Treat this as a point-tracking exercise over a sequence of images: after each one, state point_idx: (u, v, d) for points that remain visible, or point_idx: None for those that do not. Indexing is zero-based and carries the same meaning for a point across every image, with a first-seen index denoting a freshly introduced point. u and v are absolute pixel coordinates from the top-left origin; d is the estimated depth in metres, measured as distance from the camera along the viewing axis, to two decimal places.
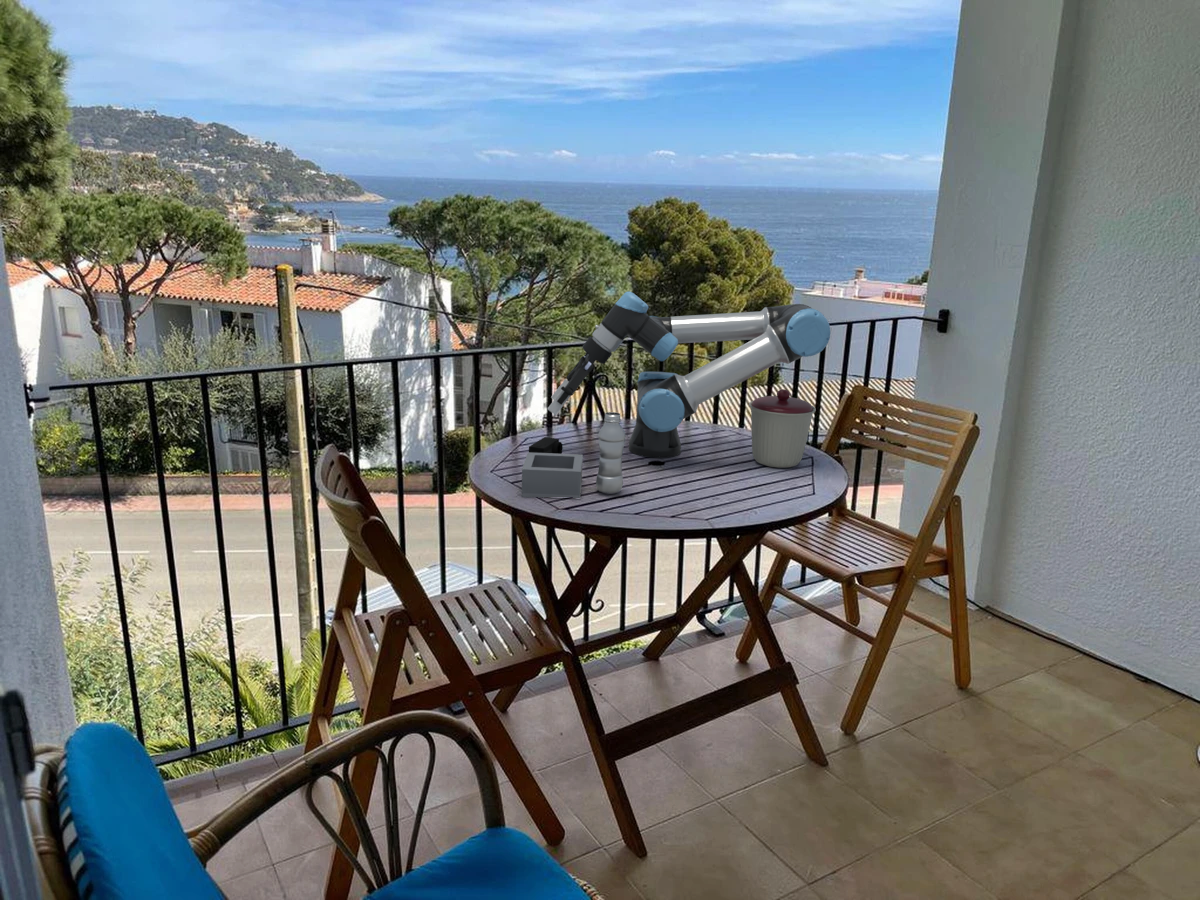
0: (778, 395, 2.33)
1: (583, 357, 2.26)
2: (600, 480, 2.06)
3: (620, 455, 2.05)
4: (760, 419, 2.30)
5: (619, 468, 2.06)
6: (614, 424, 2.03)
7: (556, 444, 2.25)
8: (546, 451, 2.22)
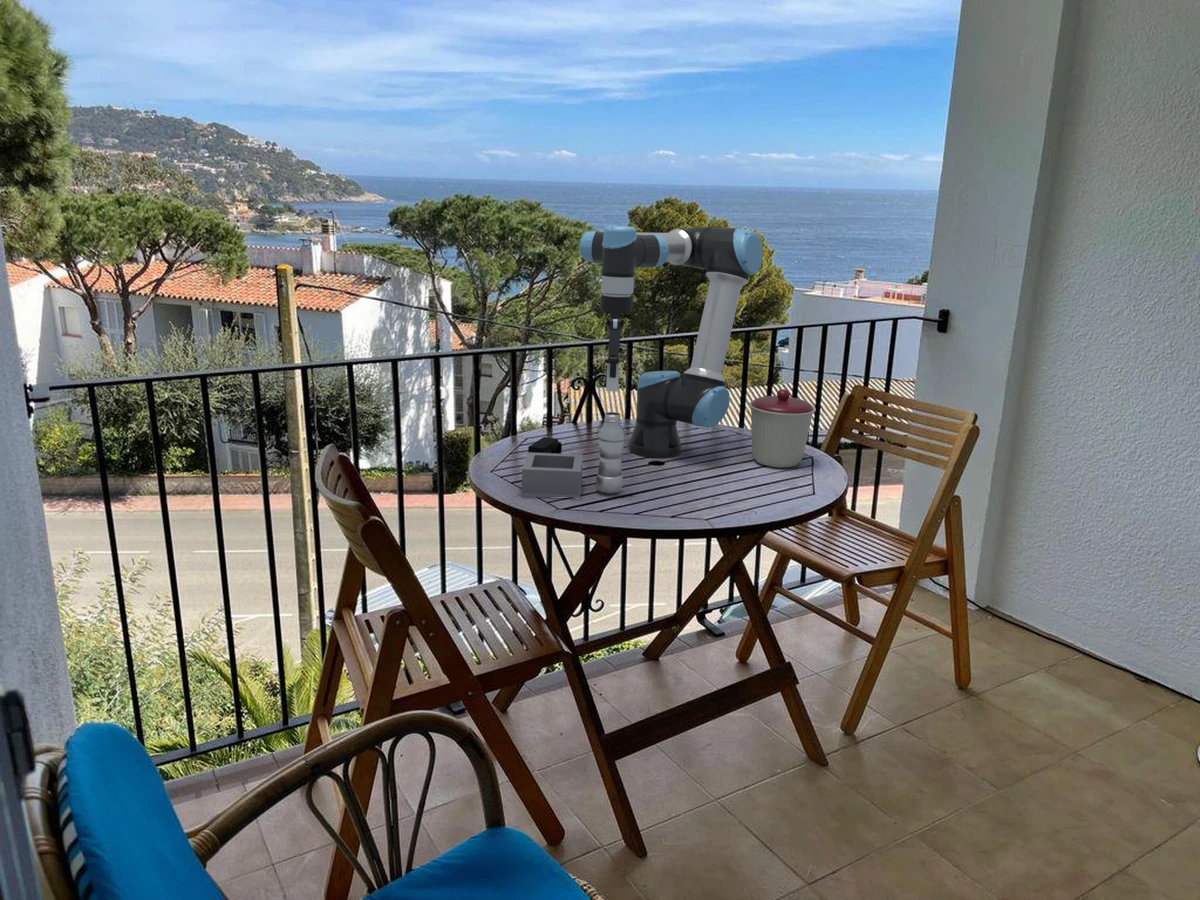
0: (778, 395, 2.33)
1: (608, 319, 1.99)
2: (600, 480, 2.06)
3: (620, 455, 2.05)
4: (760, 419, 2.30)
5: (619, 468, 2.06)
6: (614, 424, 2.03)
7: (555, 444, 2.26)
8: (545, 451, 2.22)
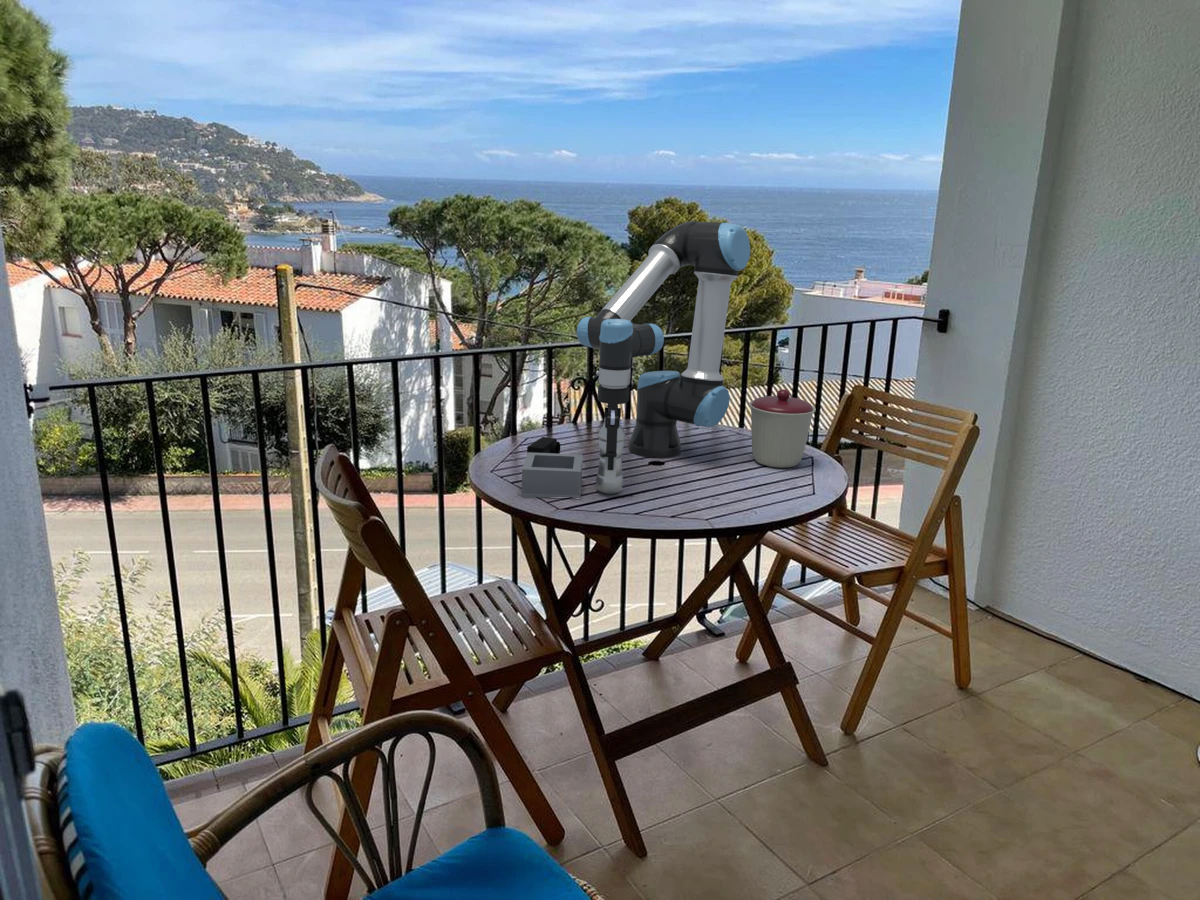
0: (778, 395, 2.33)
1: (606, 407, 2.04)
2: (600, 480, 2.06)
3: (620, 455, 2.05)
4: (760, 419, 2.30)
5: (619, 468, 2.06)
6: None
7: (554, 444, 2.26)
8: (544, 451, 2.22)
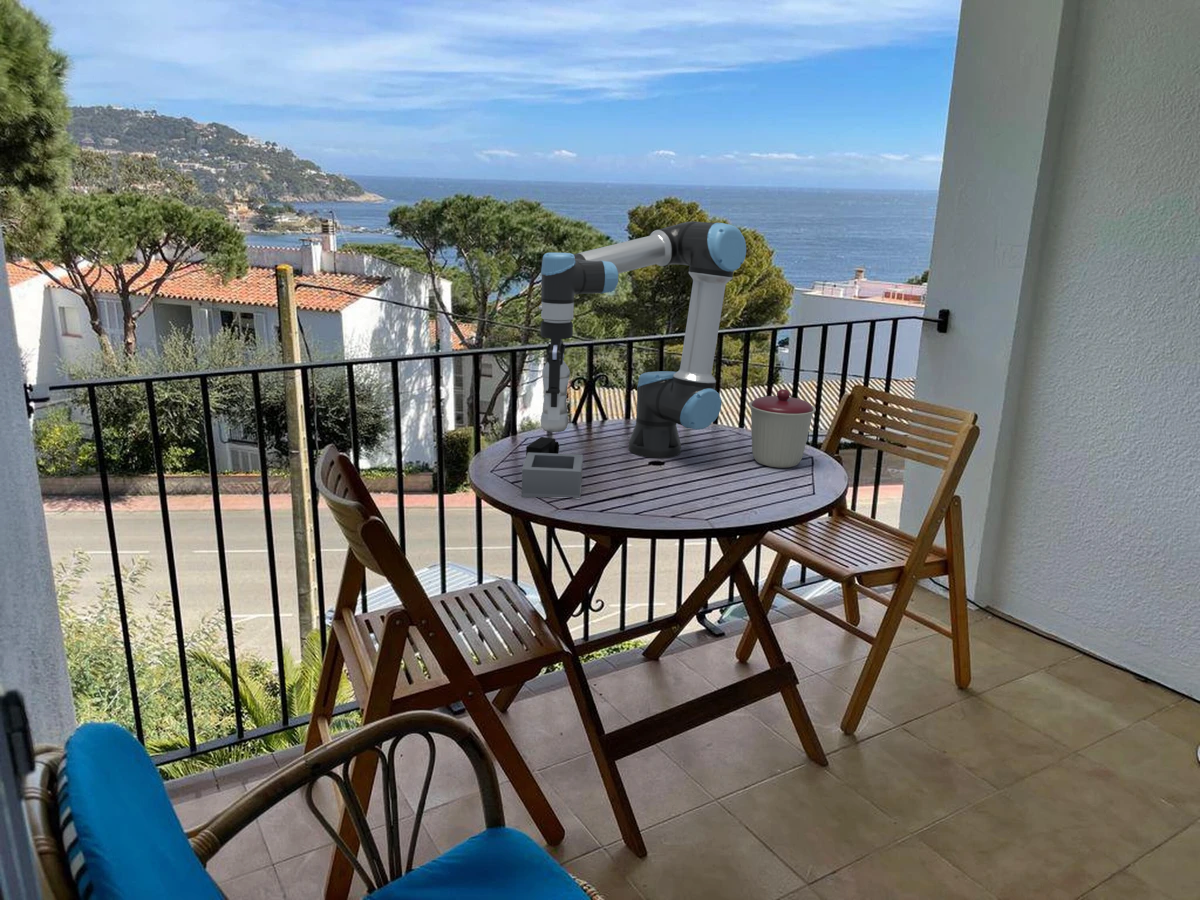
0: (778, 395, 2.33)
1: (549, 344, 2.01)
2: (545, 418, 2.03)
3: (564, 392, 2.02)
4: (760, 419, 2.30)
5: (563, 406, 2.03)
6: None
7: (553, 444, 2.26)
8: (543, 451, 2.22)
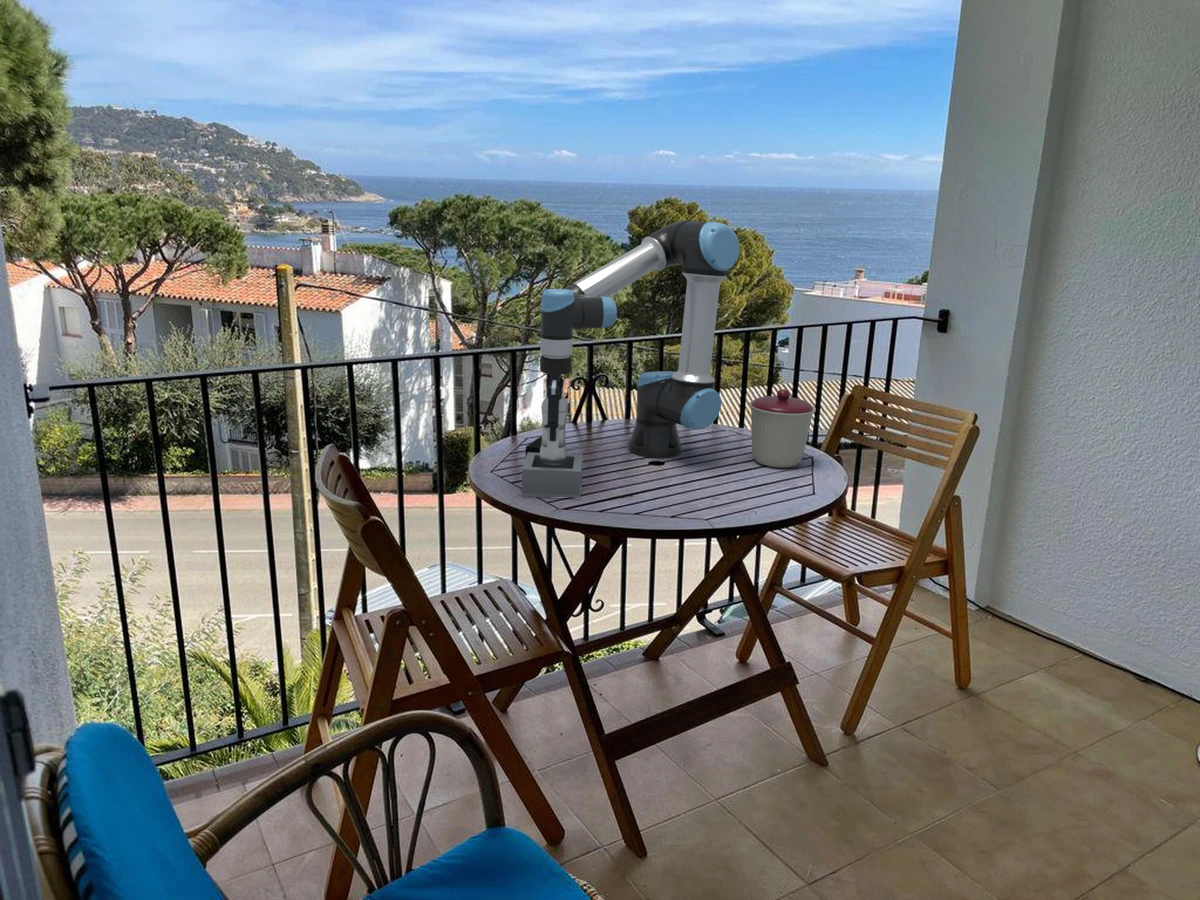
0: (778, 395, 2.33)
1: (549, 378, 2.04)
2: (543, 451, 2.05)
3: (563, 426, 2.04)
4: (760, 419, 2.30)
5: (562, 439, 2.05)
6: None
7: None
8: None
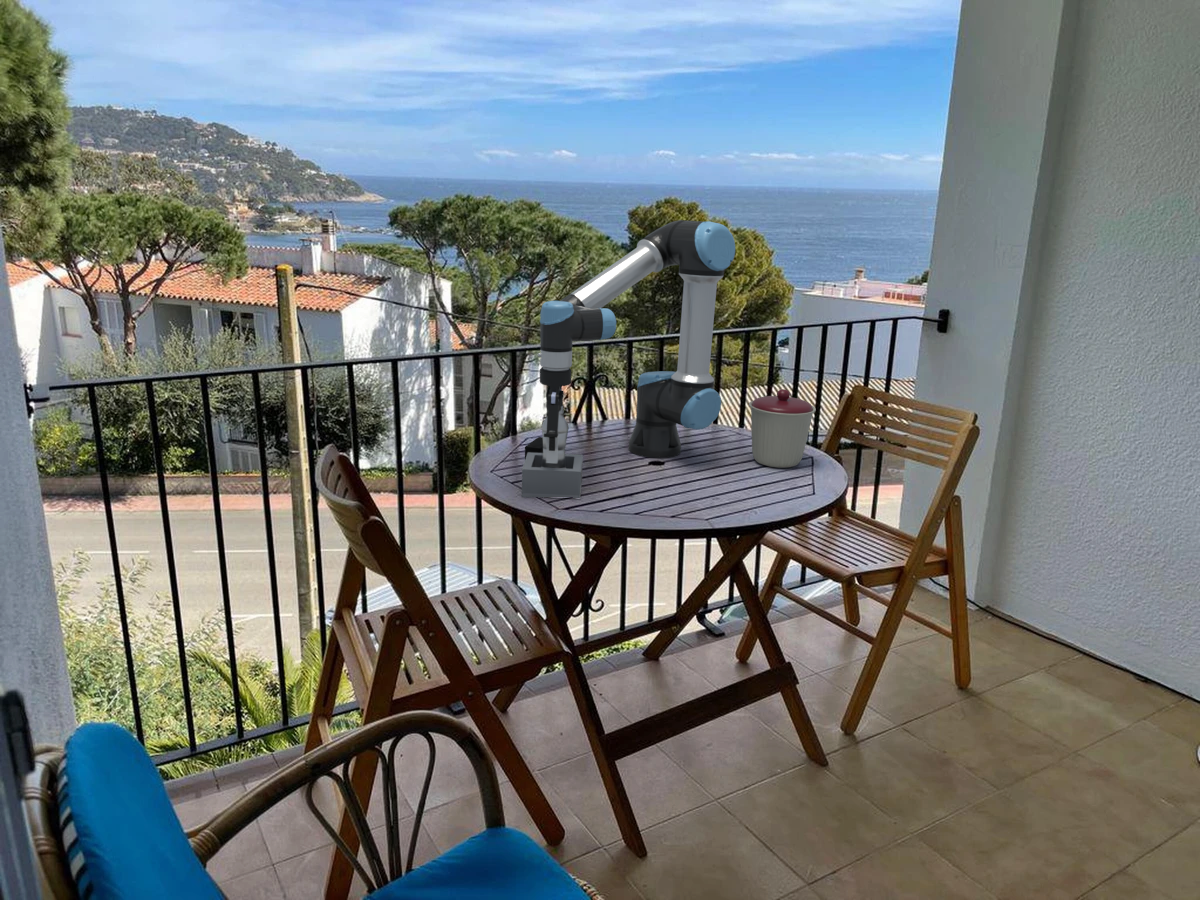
0: (778, 395, 2.33)
1: (548, 390, 2.04)
2: None
3: (563, 447, 2.06)
4: (760, 419, 2.30)
5: (562, 460, 2.07)
6: None
7: None
8: (542, 451, 2.22)
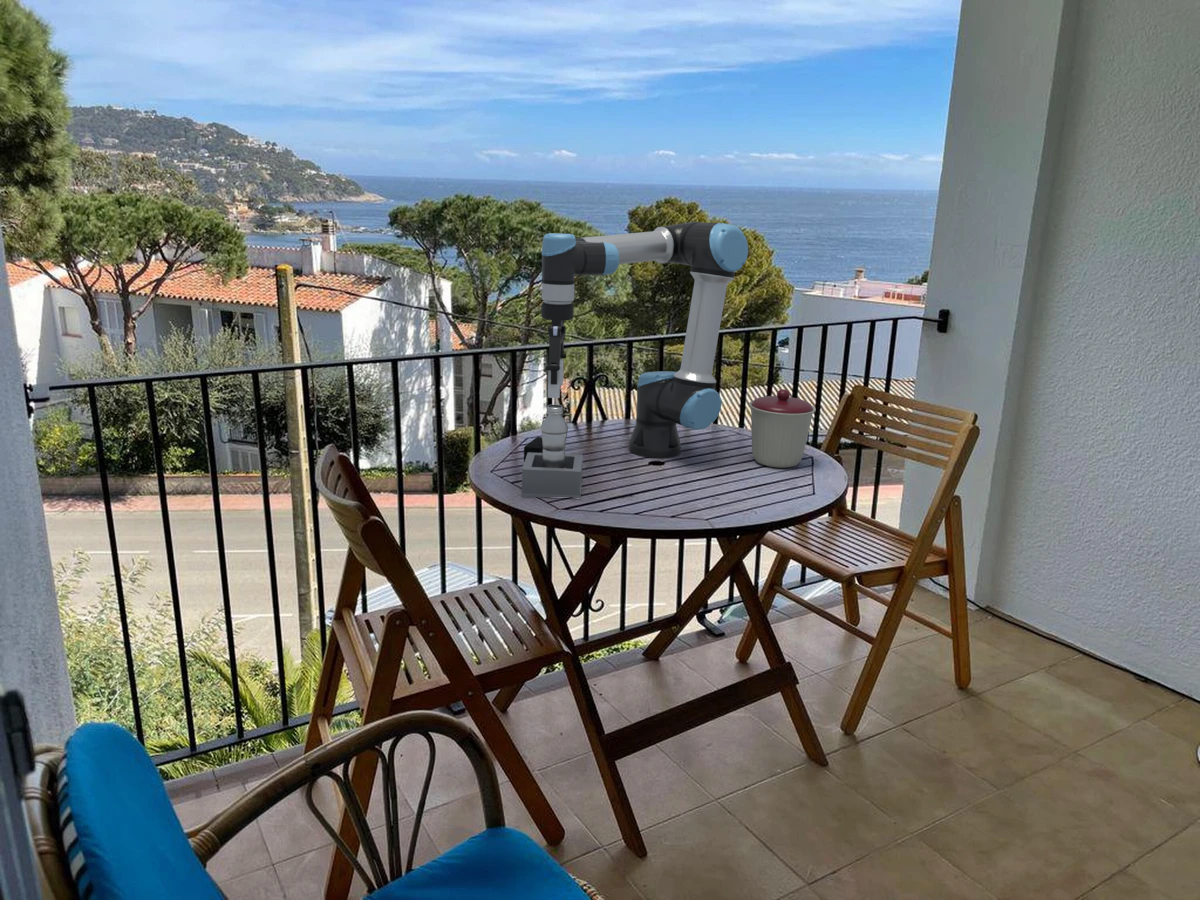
0: (778, 395, 2.33)
1: None
2: None
3: (563, 447, 2.06)
4: (760, 419, 2.30)
5: (562, 460, 2.07)
6: (556, 416, 2.04)
7: None
8: (541, 451, 2.22)
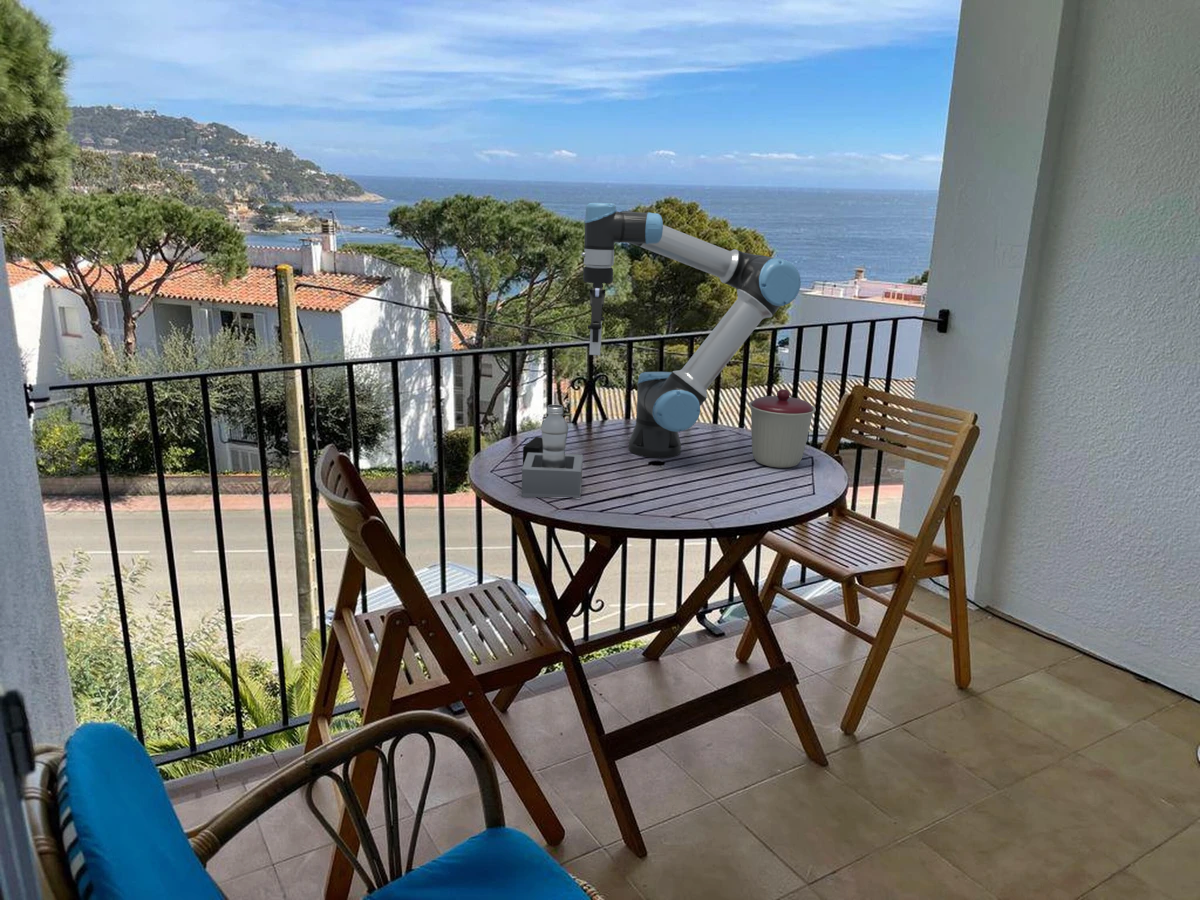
0: (778, 395, 2.33)
1: (591, 289, 2.16)
2: None
3: (563, 447, 2.06)
4: (760, 419, 2.30)
5: (562, 460, 2.07)
6: (556, 416, 2.04)
7: None
8: (540, 451, 2.22)
